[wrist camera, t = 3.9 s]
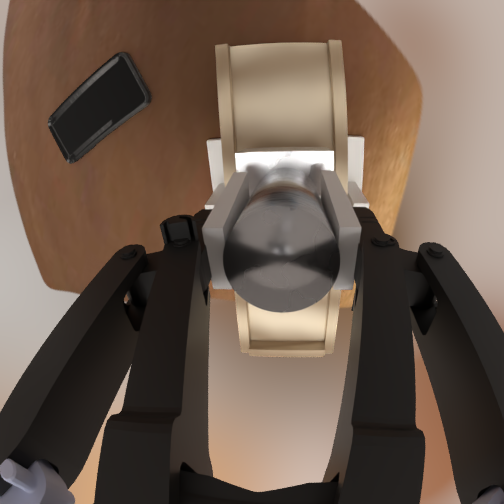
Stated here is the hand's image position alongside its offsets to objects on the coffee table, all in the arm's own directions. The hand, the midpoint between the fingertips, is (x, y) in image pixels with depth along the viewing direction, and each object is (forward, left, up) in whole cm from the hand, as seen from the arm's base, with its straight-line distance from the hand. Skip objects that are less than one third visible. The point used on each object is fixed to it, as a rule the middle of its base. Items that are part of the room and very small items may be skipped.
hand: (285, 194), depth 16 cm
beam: (+5, 0, -11) cm, 12 cm away
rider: (+2, 0, -6) cm, 6 cm away
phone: (-7, -22, -15) cm, 28 cm away
